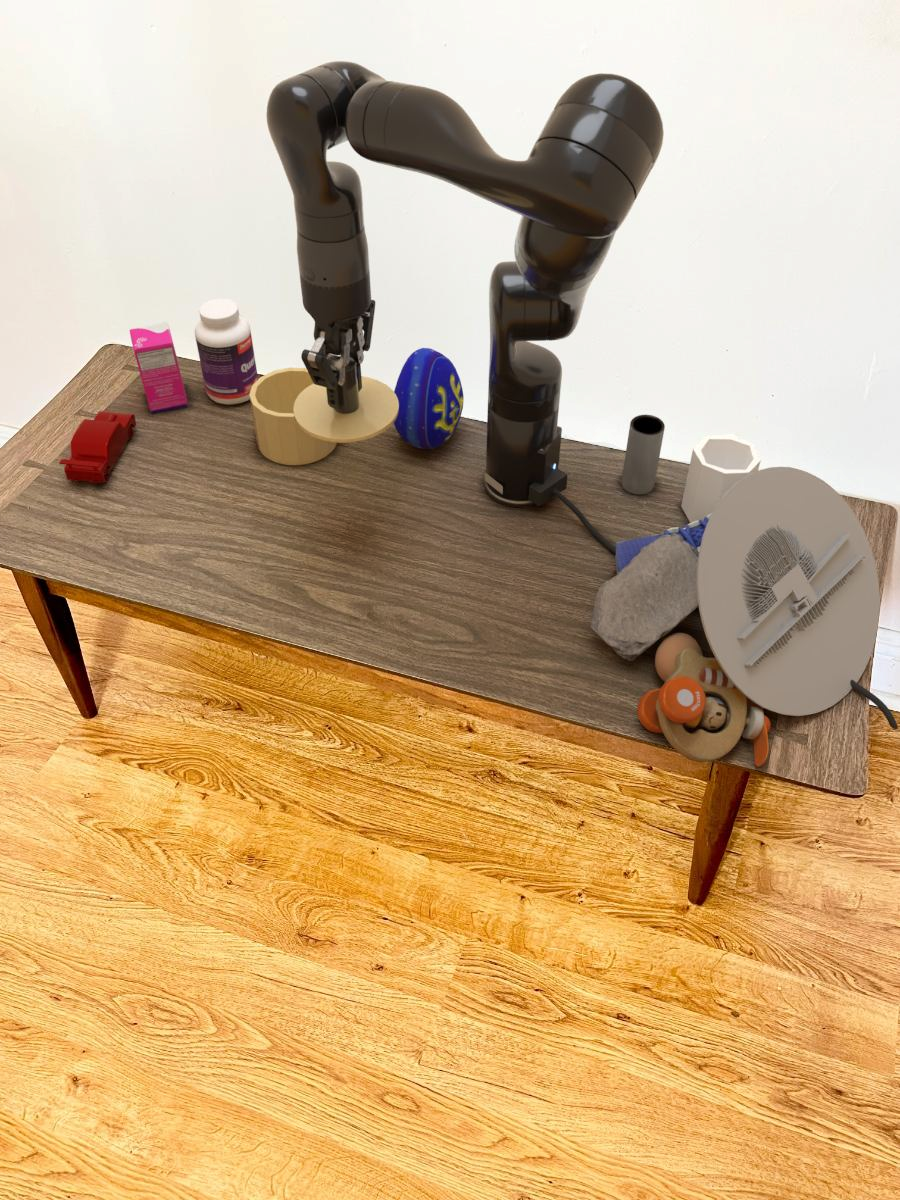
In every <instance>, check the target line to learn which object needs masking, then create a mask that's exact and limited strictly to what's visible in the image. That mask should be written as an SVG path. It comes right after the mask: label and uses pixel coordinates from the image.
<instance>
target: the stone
mask: <svg viewBox="0 0 900 1200" xmlns="http://www.w3.org/2000/svg"><path fill="white" fill-rule="evenodd" d="M698 557H699V552H698V550H697V549H695V548H694V547H693V546H692V545H690V544H689V543H687V542H685V541H684V539H683V537H681V536H680V535H678V534H672V535H662V536H660V537H659V538H657V539H656V540H655V541H653V542H652V543H651V544H649V545H647V546H645V547H643V548H641V550H640V551H639V552H638V555H637V556H635V557H633V558H632V560H631V562H630V563H629V564H628V565H627V566H625V567H624V568H623V569H622V570H621V572H620V573H619V574H618V575H617V574H616V575H615V576H613V577H611V578H610V579H608V580H607V581H604V582H603V583H602V584H601V585H600V587H598V590H597V593H596V596H595V599H594V608H593V610H592V613H591V615H590V617H589V621H588V624H589V626H590V628H591V629H592V631H594V632H595V633H596V635H598V637H600V638H601V639H602V640H603V641H604V642H605V644H607V645H608V646H609V647H611V648H612V650H613V651H614V653H616V655H618V656H620V657H621V658H622V659H624V660H627V661H629V662H632V661H634V660H635V659H637V657H638V656H641V654H643V653H644V652H645V651H647V650H649V648H651V647H652V646H653V645H654V644H656V642H657V641H659V640H660V639H661V638H664V637H665V636H666V635H667V634H669V633H670V632H671V631H672V630H673V629H675V628H676V627H677V626H678V625H679V624H680V623H682V622H683V621H685V619H687V617H689V615H691V614H692V612H694V611H695V610H696V609H697V608H699V607H698V606H699V604H698V595H697V567H698Z"/></svg>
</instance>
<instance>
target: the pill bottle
mask: <svg viewBox="0 0 900 1200" xmlns="http://www.w3.org/2000/svg"><path fill="white" fill-rule="evenodd" d="M198 313H199V318H200V320H198V322H197V323H196V325H195V328H194V337H195V342H196V347H197V353H198V357H199V358H198V359H199V363H200V367H201V373H202V378H203V383H204V388H205V389H204V390H205V393H206V395H207V396H208V398H210V399H211V400H212V401H214V402H215V403H217V404H222V405H229V406H230V405H238V404H242V403H245V402H247V401H250V397H249V394H250V391H251V388H252V385H253V384H254V383H255V382H256V381H257V380H258V379H259V376H258V370H257V363H256V362H257V361H256V356H255V350H254V344H253V338H252V330H251V324H250V323H249V321H248V320H247V319H246V318H245V317H244V316H242V315H241V314H240V311H239V306H238V304H237V303H236V301H234V300H232V299H227V298H214V299H210V300H207V301H206V302H203V303H202V304H201V306H199V309H198Z"/></svg>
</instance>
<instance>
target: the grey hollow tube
mask: <svg viewBox="0 0 900 1200" xmlns="http://www.w3.org/2000/svg"><path fill="white" fill-rule="evenodd" d="M665 429H666V425H665V422H663V420H662V419H661V418H659V416H658V417H657V416H656V415H652V414H639V415H636V416H634V417H633V418H632V419H631V420H630V423H629V429H628V436H627V442H626V449H625V455H624V463H623V469H622V475H621V486H622V488H623V489H624V490H625V491H626V492H627V493H630V494H633V495H637V496H638V495H639V496H640V495H641V496H642V495H646V494H648V493H650V492H652V491H653V490H654V488H655V483H656V479H657V478H656V477H657V472H658V467H659V462H660V456H661V450H662V445H663V440H664V435H665V434H664V433H665Z"/></svg>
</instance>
